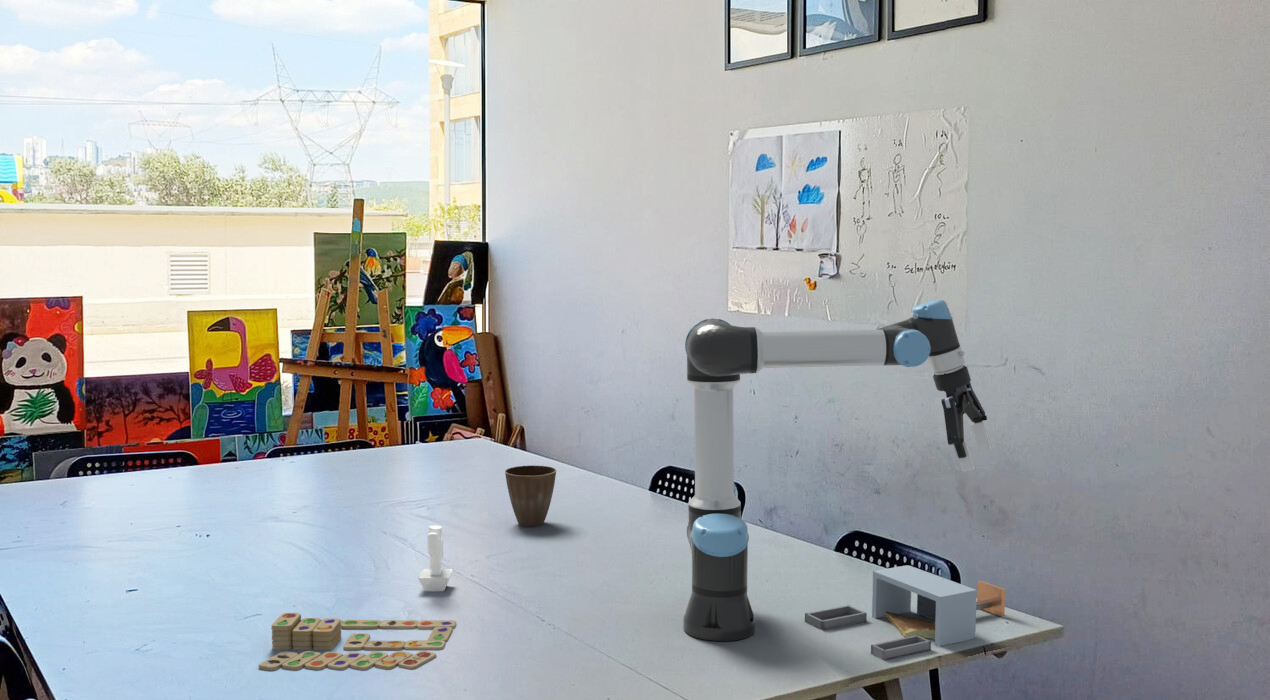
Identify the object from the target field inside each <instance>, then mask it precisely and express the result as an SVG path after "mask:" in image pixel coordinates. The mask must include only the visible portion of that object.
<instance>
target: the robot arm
mask: <svg viewBox="0 0 1270 700" xmlns="http://www.w3.org/2000/svg"><path fill="white" fill-rule="evenodd" d="M684 342H685V343H684V348H685V349H684V350H685V352H686V379H687V383H689V384H690V386H692V387H693V390H694V391H693V392H694V393H693V396H694V397H693V398H694V400H693V401H694V406H693V407H694V415H693V416H694V484H695V485H694V496H693V497H692V498H691V499H690V500H689V501H688V502H687V505H688V521H687V522H688V523H687V525H686V538H687V541H688V544H689V548H690V551H691V566H692V567H691V595H690V597H689V600H688V603H687V607H686V609H685V613H684V615H683V619H682V620H683V621H682V623H683V625H682V627H683V631H684V632H685V633H686V634H687V635H689V636H690V637H691V636H692V637H694V638H697V639H700V640H704V641H705V640H706V641H715V642H729V641H730V642H731V641H737V640H743V639H746V638H749V637H751V636H752V635H753V634H754V633H755V632H756V618H755V615H754V612H753V609H752V605H751V602H750V599H749V596H748V554H749V553H748V552H749V550H748V547H749V546H748V545H749V541H750V535H749V531H748V529H749V528H748V525H747V523H746V522H745V521H744V520H743V519H742V517H741V516H742V510H741V509H742V508H741V507H742V505H741V503H742V502H741V501H740V500H739V498H737V496H735V489H734V488H735V487H734V486H735V485H734V484H735V479H734V477H735V476H734V475H735V473H734V472H735V470H734V467H735V466H734V464H735V463H734V462H735V461H734V459H735V458H734V446H735V445H734V388H735V387H736V385H737V384H739V383H740V381H741V375H744V374H745V375H747V374H758V373H759V372H760V371H762V370H763V369H781V368H782V369H786V368H788V369H789V368H822V367H825V368H830V367H862V366H863V367H865V366H869V367H870V366H902V367H905V368H911V367H912V368H916V367H919V366H921V365H922V364H924V363H925V362H926V361H927V363H928V366H929V369H930V370H929V371H930V372H931V373H932V374H933V376H932V378H933V381H934V386H935V388H936V390H937V391H939V392H944V393H945V396H946V398H941V405H942V408H943V415H944V423H945V430H946V431H945V432H946V437H947V444H948V445H949V446H951V445H953V447H954V451H955V453H956V458H957V461H958V464H959V467H960V470H961V472H962V473H965V472H972V471H975V469H976V468H975V464H974V461H973V459H972V458H973V457H972V456H971V452H970V449H969V445H968V442H967V440H965V434H964V433H965V432H964V415H966V416H967V417H968V418H969V420H970V422H972V423H971V424H970V425H971V428H972V432H973V435H974V438H975V441H976V445H977V447H978V451H979V452H985V451H991V450H992V449H993V448H992V445H991V441H990V438H989V434H988V431H987V427H986V425H985V421H987V420H988V416H987V415H986V412H985V409H984V407H983V406H982V404H981V402H980V400H979V399H978V397H977V395H976V393H975V391H974V389H973V387H972V384H971V381H972V379H971V375H970V373H969V369H968V367H967V366H966V365H965V363H966V361H965V357H964V356H965V355H966V354H965V351H964V350H962V347H961V343H960V340H959V337H958V334H957V331H956V327H955V324H954V319H953V317H952V314H951V311H950V309H949V307H948V304H947V302H946V300H944V299H934V300H930V301H926V302H923V303H920V304H919V305H915V306H914V307H913V308H912V316H911V317H909V318H907V319H905V320H901V321H899V322H896V323H892V324H888V325H885V326H882V327H880V328H879V327H878V328H876V329H850V330H849V329H848V330H847V329H845V330H844V329H843V330H836V329H835V330H795V331H793V330H792V331H785V330H784V331H783V330H782V331H761V330H760V329H759V328H758V327H757V326H748V327H747V326H746V327H745V326H737V325H732V324H730V323H729V322H727V321H726V320H724V319H721V318H714V317H713V318H706V319H703V320H699V322H697V323H696V324H694V325H693V326H692V327H691V328H690V329H689V331H688V333H687V335H686V338H685V341H684Z"/></svg>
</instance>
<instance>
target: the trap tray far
mask: <svg viewBox="0 0 1270 700" xmlns="http://www.w3.org/2000/svg"><path fill="white" fill-rule="evenodd" d="M867 614H868V613H867V612H865V611H864V610H860V609H858V608H856V607H853V606H851V605H849V604H847V605H841V606H837V607H832V608H827V609H822V610H817V611H810V612H806V613H804V622H805V623H807V624H809V625H811V626H813V627H816V628H817V629H818V630H821V631H824V630H829V629H833V628H839V627H845V626H848V625H849V626H850V625H854V624H858V623H859V624H860V623H864V622H867V617H868V616H867Z"/></svg>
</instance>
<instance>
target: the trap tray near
mask: <svg viewBox="0 0 1270 700" xmlns="http://www.w3.org/2000/svg"><path fill="white" fill-rule="evenodd" d="M931 650H932V641H931V640H929V639H928V638H922V637H920V636H918V635H915V636H911V637H906V638H905V637H902V638H897V639H892V640H888V641H883V642H879V643H874V644H871V645H870V654H871V655H872V656H875V657H876V658H879V659H881V660H882V661H887V660H892V659H896V658H901V657H906V656H909V655H914V654H919V653H923V652H929V651H931Z"/></svg>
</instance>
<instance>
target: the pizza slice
mask: <svg viewBox="0 0 1270 700" xmlns="http://www.w3.org/2000/svg"><path fill="white" fill-rule="evenodd" d="M886 615H887V616H886V620H888V621H889V622H890V623H891V624H893V625H894V627H895V628H896V629H898V631H899V632H900V633H901V634H902V636H903V638H906V637H911V636H915V635H918V636H920V637H922V638H925V639H935V622H933V621H929V620H924V619H922V618H917V617H913V616H907V615H904V614H894V613H890V612H886Z"/></svg>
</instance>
